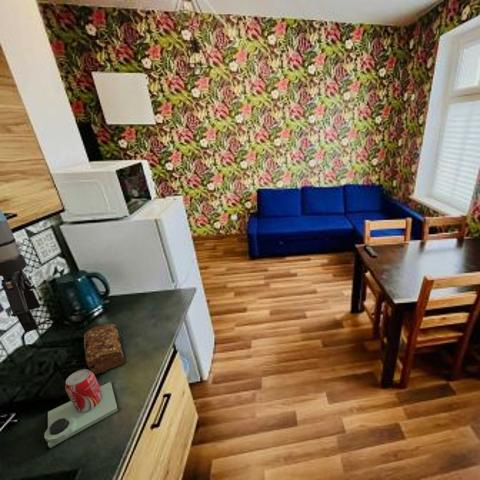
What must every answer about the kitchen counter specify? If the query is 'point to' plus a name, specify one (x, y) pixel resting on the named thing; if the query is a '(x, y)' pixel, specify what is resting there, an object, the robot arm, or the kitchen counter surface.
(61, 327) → the kitchen counter surface
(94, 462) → the kitchen counter surface
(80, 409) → the soda can
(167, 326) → the kitchen counter surface
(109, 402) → the scale
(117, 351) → the bread
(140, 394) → the kitchen counter surface
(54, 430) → the button
